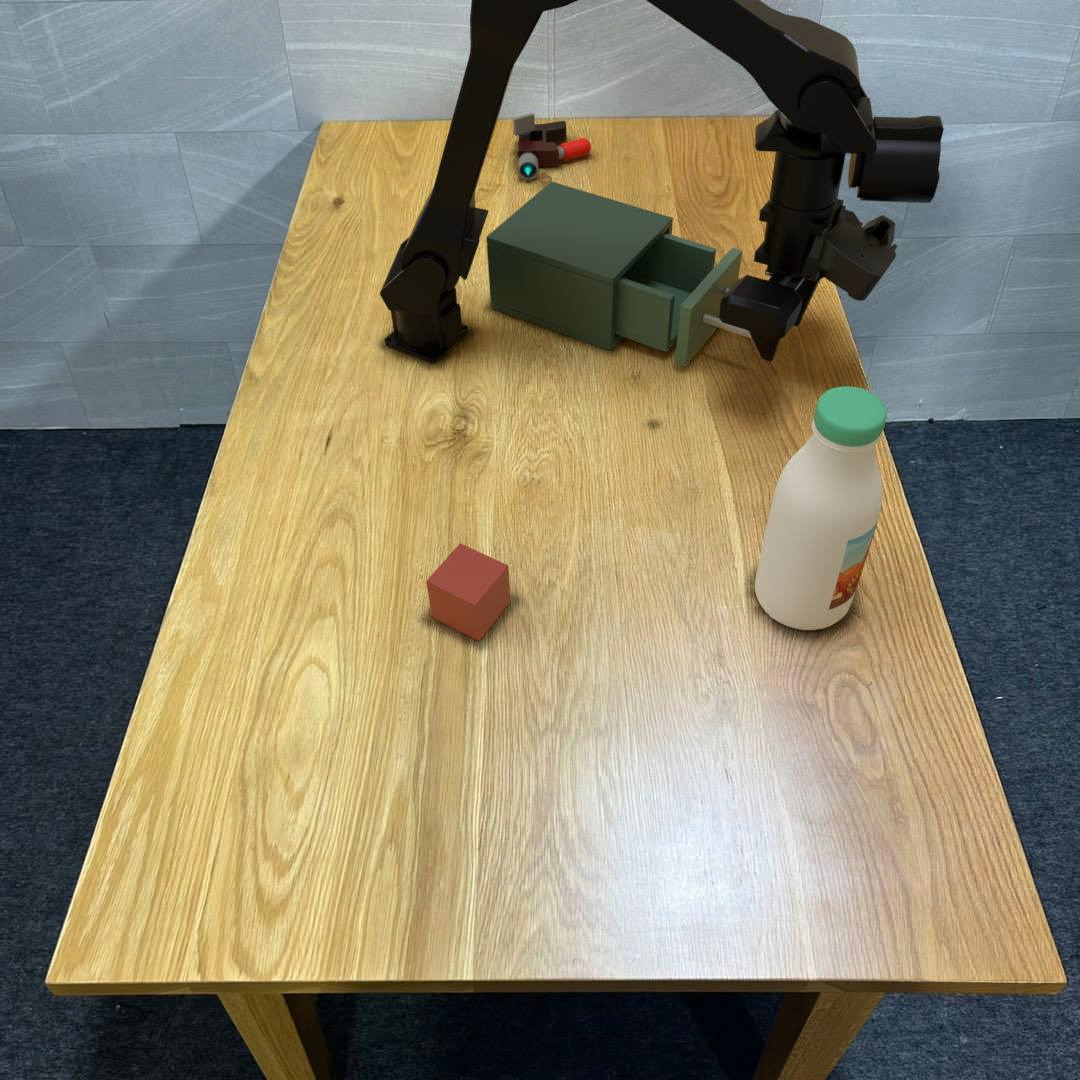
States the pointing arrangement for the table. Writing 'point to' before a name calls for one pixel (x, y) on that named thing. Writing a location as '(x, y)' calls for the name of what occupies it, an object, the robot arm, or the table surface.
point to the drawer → (675, 296)
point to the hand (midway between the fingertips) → (780, 342)
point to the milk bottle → (824, 514)
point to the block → (469, 591)
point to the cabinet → (569, 260)
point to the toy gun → (544, 145)
